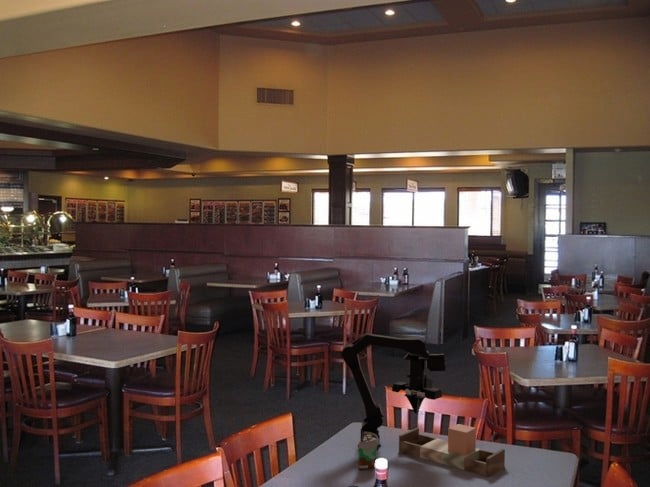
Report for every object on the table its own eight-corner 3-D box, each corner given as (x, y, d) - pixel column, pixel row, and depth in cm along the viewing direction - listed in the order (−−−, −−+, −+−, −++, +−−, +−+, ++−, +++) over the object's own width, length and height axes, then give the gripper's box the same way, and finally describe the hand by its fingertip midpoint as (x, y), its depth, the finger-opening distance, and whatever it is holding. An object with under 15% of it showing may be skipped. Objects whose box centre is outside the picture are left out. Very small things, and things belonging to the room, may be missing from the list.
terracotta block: (447, 451, 224) (448, 428, 224) (457, 445, 230) (458, 423, 230) (466, 455, 220) (466, 432, 220) (475, 450, 225) (475, 427, 225)
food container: (376, 473, 214) (377, 443, 213) (358, 471, 215) (358, 442, 215) (380, 460, 226) (381, 432, 226) (363, 459, 227) (363, 431, 227)
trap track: (398, 451, 235) (399, 435, 235) (416, 443, 244) (416, 427, 244) (488, 476, 212) (489, 458, 212) (504, 466, 221) (504, 449, 221)
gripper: (449, 371, 238) (449, 413, 239) (407, 364, 250) (407, 404, 251) (434, 377, 230) (433, 420, 230) (391, 369, 242) (390, 410, 242)
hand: (416, 413), depth 239 cm, fingers closed
